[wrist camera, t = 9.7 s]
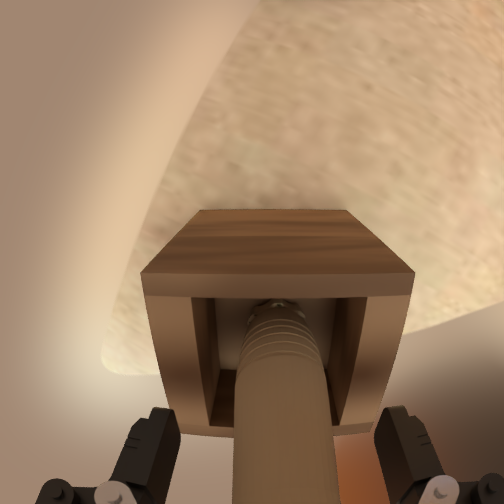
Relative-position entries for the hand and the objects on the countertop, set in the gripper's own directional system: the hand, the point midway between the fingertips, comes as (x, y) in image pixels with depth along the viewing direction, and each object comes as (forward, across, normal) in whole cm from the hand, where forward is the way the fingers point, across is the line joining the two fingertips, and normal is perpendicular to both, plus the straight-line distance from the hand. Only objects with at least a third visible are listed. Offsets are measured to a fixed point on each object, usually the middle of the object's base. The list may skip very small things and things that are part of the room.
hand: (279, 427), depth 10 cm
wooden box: (+15, 0, 0) cm, 15 cm away
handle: (+8, 0, 0) cm, 8 cm away
